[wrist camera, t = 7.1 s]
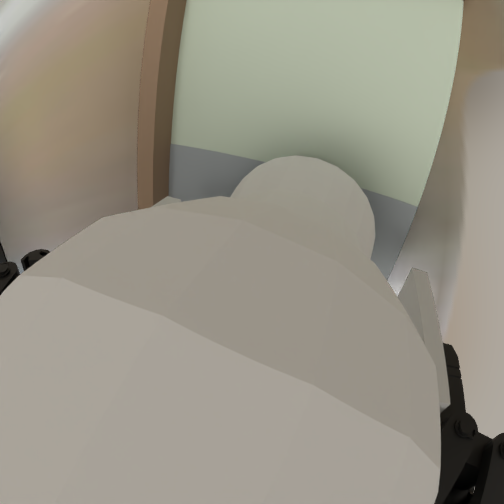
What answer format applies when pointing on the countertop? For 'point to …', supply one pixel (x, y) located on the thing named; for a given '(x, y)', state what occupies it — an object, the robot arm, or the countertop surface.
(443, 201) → the countertop surface
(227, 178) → the rail board
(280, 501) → the cup
